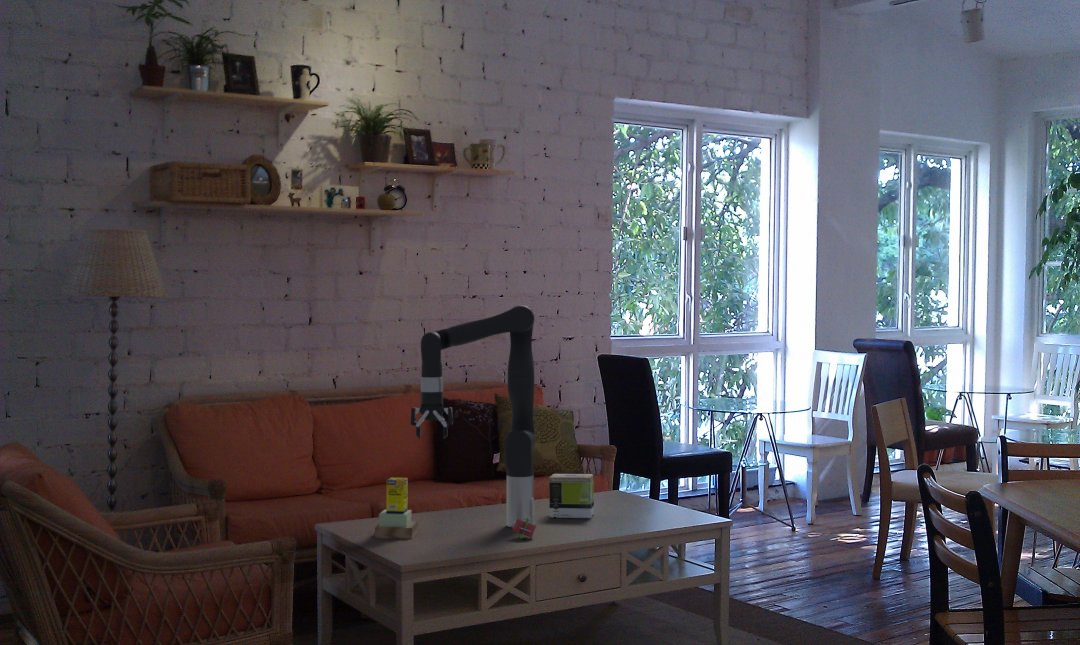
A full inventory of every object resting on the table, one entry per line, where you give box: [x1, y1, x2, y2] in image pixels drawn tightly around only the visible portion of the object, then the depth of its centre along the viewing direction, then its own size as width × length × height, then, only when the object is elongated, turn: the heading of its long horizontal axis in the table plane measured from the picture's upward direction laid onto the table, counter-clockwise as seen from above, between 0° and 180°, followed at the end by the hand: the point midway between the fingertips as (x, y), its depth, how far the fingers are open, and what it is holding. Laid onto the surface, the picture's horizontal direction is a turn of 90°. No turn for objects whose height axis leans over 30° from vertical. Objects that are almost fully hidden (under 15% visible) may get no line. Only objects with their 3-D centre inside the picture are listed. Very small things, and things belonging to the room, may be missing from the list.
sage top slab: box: [378, 509, 413, 527], centre depth 353 cm, size 9×9×4 cm
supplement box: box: [385, 477, 409, 514], centre depth 353 cm, size 6×6×11 cm
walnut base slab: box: [374, 520, 419, 540], centre depth 353 cm, size 12×12×4 cm
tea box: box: [548, 473, 595, 519], centre depth 387 cm, size 15×10×15 cm
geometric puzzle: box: [512, 518, 537, 540], centre depth 347 cm, size 7×7×8 cm
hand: (432, 437), depth 368 cm, fingers open, 8 cm apart
